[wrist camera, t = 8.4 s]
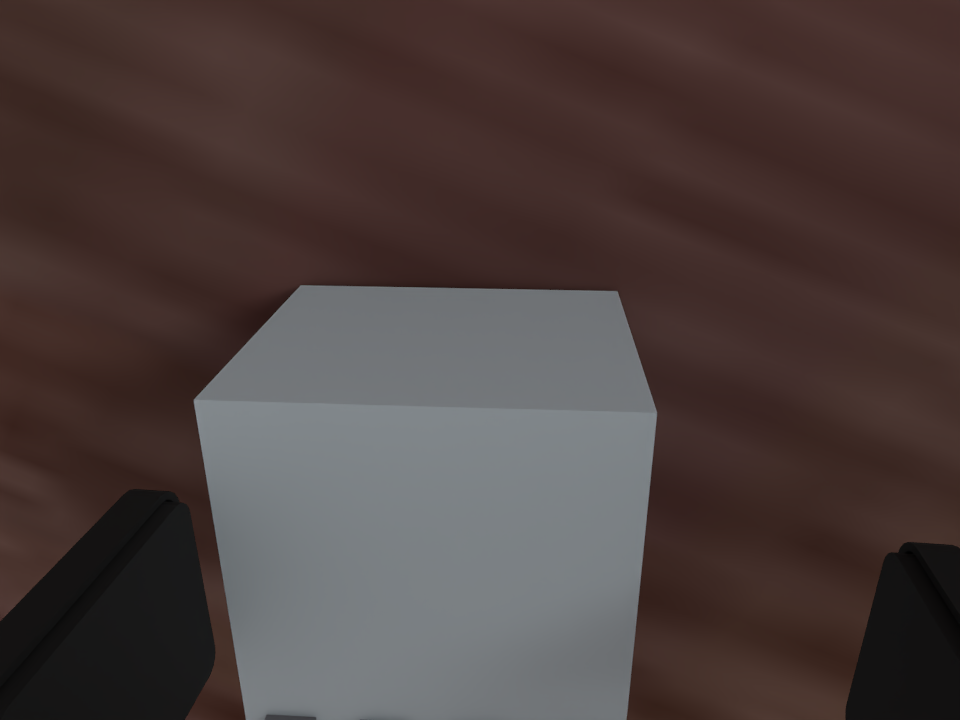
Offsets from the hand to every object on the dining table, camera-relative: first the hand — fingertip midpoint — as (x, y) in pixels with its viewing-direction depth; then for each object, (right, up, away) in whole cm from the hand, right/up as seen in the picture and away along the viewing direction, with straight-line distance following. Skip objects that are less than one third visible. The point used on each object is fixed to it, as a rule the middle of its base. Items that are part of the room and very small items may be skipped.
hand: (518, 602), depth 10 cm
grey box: (-1, +2, +5) cm, 6 cm away
